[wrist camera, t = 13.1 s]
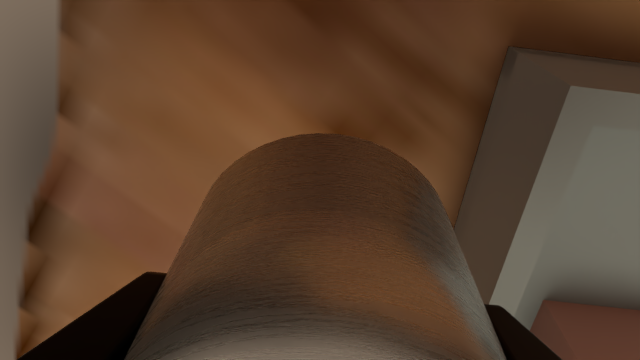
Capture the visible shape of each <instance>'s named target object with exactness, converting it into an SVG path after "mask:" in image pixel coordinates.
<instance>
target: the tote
mask: <svg viewBox="0 0 640 360" xmlns="http://www.w3.org/2000/svg"><path fill="white" fill-rule="evenodd" d="M454 233H455V235H456V237H457V240H458V242H459V245H460V247H461V250H462V252H463V254H464V257H465V259H466V262H467V264H468V267H469V269H470V272H471V274H472V276H473V279H474V281H475V284H476V286H477V289H478V291H479V293H480V296H481V298H482V301H483V303H484V304H491V305H499V306H501V307H503V308H504V309H506V310H507V311H508V312H509V313H510V314H511V315H512V316H513V317H515V318H516V319H517V320H518V321H519V322H520V323H521V324H523V325H524V326H525V327H526V328H527V329H528V330H529V331H530V329H531V327H532V324H533V322H534V320H535V318H536V315H537V313H538V311H539V308H540V306H541V304H542V302H543V300H549V301H558V302H568V303H577V304H586V305H595V306H605V307H614V308H623V309H633V310H640V63H637V62H629V61H621V60H613V59H605V58H597V57H589V56H581V55H574V54H566V53H558V52H550V51H542V50H534V49H526V48H518V47H510V46H509V47H508V50H507V54H506V57H505V60H504V64H503V67H502V70H501V74H500V77H499V80H498V84H497V87H496V90H495V94H494V97H493V100H492V104H491V107H490V110H489V114H488V117H487V120H486V124H485V127H484V130H483V134H482V137H481V141H480V144H479V147H478V151H477V154H476V157H475V161H474V164H473V167H472V171H471V174H470V177H469V181H468V184H467V187H466V191H465V194H464V197H463V201H462V204H461V207H460V211H459V214H458V217H457V221H456V224H455V227H454Z"/></svg>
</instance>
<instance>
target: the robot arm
mask: <svg viewBox="0 0 640 360" xmlns="http://www.w3.org/2000/svg"><path fill="white" fill-rule="evenodd" d="M166 275H167V273H159V272H146V273H144V274H142V275H141V276H139V277H138V278H136V279H135V280H133V281H132V282H130V283H129V284H127V285H126V286H124V287H123V288H121V289H120V290H118V291H117V292H116V293H114V294H113V295H111V296H110V297H108V298H107V299H105V300H104V301H102V302H101V303H99V304H98V305H96V306H95V307H93V308H92V309H91V310H89V311H88V312H86V313H85V314H83V315H82V316H80V317H79V318H77V319H76V320H74V321H73V322H71V323H70V324H68V325H67V326H65V327H64V328H63V329H61V330H60V331H58V332H57V333H55V334H54V335H52V336H51V337H49V338H48V339H46V340H45V341H43V342H42V343H40V344H39V345H38V346H36V347H35V348H33V349H32V350H30V351H29V352H27V353H26V354H24V355H23V356H21V357H20V358H18V359H17V360H124V358H125V356H126V355H127V353H128V351H129V349H130V347H131V345H132V343H133V341H134V339H135V337H136V335H137V333H138V331H139V329H140V327H141V325H142V323H143V321H144V319H145V317H146V315H147V313H148V311H149V309H150V307H151V305H152V303H153V301H154V299H155V297H156V295H157V293H158V291H159V289H160V287H161V285H162V283H163V281H164V279H165V277H166ZM484 306H485V308H486V310H487V313H488V315H489V318H490V320H491V323H492V325H493V327H494V330H495V332H496V335H497V337H498V340H499V342H500V345H501V347H502V349H503V352H504V354H505V357H506V359H507V360H562V359H561V358H560V357H559V356H558V355H557V354H555V353H554V352H553V351H552V350H551V349H550V348H549V347H548V346H546V345H545V344H544V343H543V342H542V341H541V340H540V339H538V338H537V337H536V336H535V335H534V334H533V333H532V332H530V331H529V330H528V329H527V328H526V327H525V326H524V325H523V324H521V323H520V322H519V321H518V320H517V319H516V318H515V317H513V316H512V315H511V314H510V313H509V312H508V311H507V310H506V309H504V308H503V307H501V306H499V305H491V304H484Z"/></svg>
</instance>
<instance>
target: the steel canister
mask: <svg viewBox="0 0 640 360" xmlns="http://www.w3.org/2000/svg"><path fill="white" fill-rule="evenodd" d="M124 360H507V359H506V357H505V354H504V352H503V349H502V347H501V345H500V342H499V340H498V337H497V335H496V332H495V330H494V327H493V325H492V323H491V320H490V318H489V315H488V313H487V310H486V308H485V306H484V303H483V301H482V298H481V296H480V293H479V291H478V289H477V286H476V284H475V281H474V279H473V276H472V274H471V272H470V269H469V267H468V264H467V262H466V259H465V257H464V254H463V252H462V250H461V247H460V245H459V242H458V240H457V237H456V235H455V233H454V230H453V228H452V225H451V223H450V220H449V218H448V216H447V213H446V211H445V208H444V206H443V204H442V202H441V200H440V198H439V196H438V194H437V192H436V191H435V189H434V188H433V187H432V185H431V184H430V182H429V181H428V180H427V179H426V178H425V177H424V175H423V174H422V173H421V172H420V171H419V170H418V169H417V168H415V167H414V166H413V165H412V164H411V163H409V162H408V161H407V160H406V159H404V158H403V157H401V156H399V155H398V154H396V153H394V152H393V151H391V150H389V149H387V148H385V147H382V146H380V145H378V144H376V143H373V142H370V141H367V140H363V139H360V138H357V137H351V136H345V135H339V134H322V133H316V134H304V135H296V136H292V137H287V138H282V139H279V140H276V141H273V142H270V143H267V144H264V145H262V146H260V147H258V148H256V149H254V150H252V151H250V152H248V153H247V154H245V155H244V156H243V157H241V158H240V159H238V160H237V161H235V162H234V163H233V164H232V165H231V166H230V167H228V168H227V169H226V170H225V171H224V172H223V173H222V174H221V175H220V177H219V178H218V179H217V180H216V182H215V183H214V184H213V185H212V187H211V189H210V191H209V192H208V194H207V196H206V197H205V199H204V201H203V203H202V205H201V207H200V209H199V211H198V213H197V215H196V217H195V219H194V221H193V223H192V225H191V227H190V229H189V231H188V233H187V235H186V237H185V239H184V241H183V243H182V245H181V247H180V249H179V251H178V253H177V255H176V257H175V259H174V261H173V263H172V265H171V267H170V269H169V271H168V273H167V275H166V277H165V279H164V281H163V283H162V285H161V287H160V289H159V291H158V293H157V295H156V297H155V299H154V301H153V303H152V305H151V307H150V309H149V311H148V313H147V315H146V317H145V319H144V321H143V323H142V325H141V327H140V329H139V331H138V333H137V335H136V337H135V339H134V341H133V343H132V345H131V347H130V349H129V351H128V353H127V355H126V356H125V358H124Z"/></svg>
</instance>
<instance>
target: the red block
mask: <svg viewBox="0 0 640 360" xmlns="http://www.w3.org/2000/svg"><path fill="white" fill-rule="evenodd" d="M530 332H532V333H533V334H534V335H535V336H536V337H537V338H538V339H540V340H541V341H542V342H543V343H544V344H545V345H546V346H548V347H549V348H550V349H551V350H552V351H553V352H554V353H555V354H557V355H558V356H559V357H560V358H561V359H562V360H640V310H633V309H623V308H614V307H605V306H595V305H586V304H577V303H568V302H558V301H549V300H543V302H542V304H541V306H540V308H539V311H538V313H537V315H536V318H535V320H534V322H533V324H532V327H531V329H530Z"/></svg>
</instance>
